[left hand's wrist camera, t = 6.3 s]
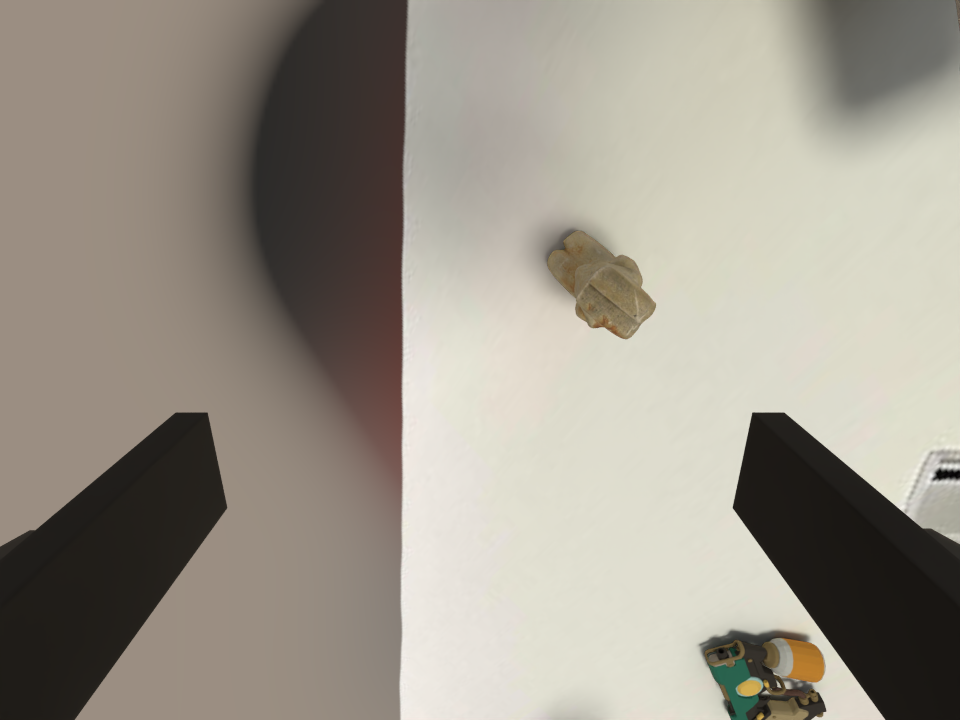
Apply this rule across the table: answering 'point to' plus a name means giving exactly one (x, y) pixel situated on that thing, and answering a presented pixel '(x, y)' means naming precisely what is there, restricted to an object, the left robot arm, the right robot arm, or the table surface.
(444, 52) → the table surface
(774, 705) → the spray gun
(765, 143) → the table surface
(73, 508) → the left robot arm
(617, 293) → the sculpture
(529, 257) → the table surface
